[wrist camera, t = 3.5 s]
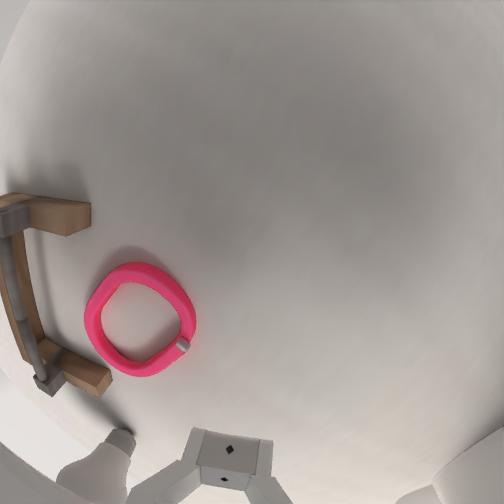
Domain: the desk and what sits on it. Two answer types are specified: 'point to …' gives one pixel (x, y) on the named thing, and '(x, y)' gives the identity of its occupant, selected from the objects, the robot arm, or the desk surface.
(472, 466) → the robot arm
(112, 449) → the lightbulb
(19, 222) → the wooden bar clamp
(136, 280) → the fitness band
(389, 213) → the desk surface
